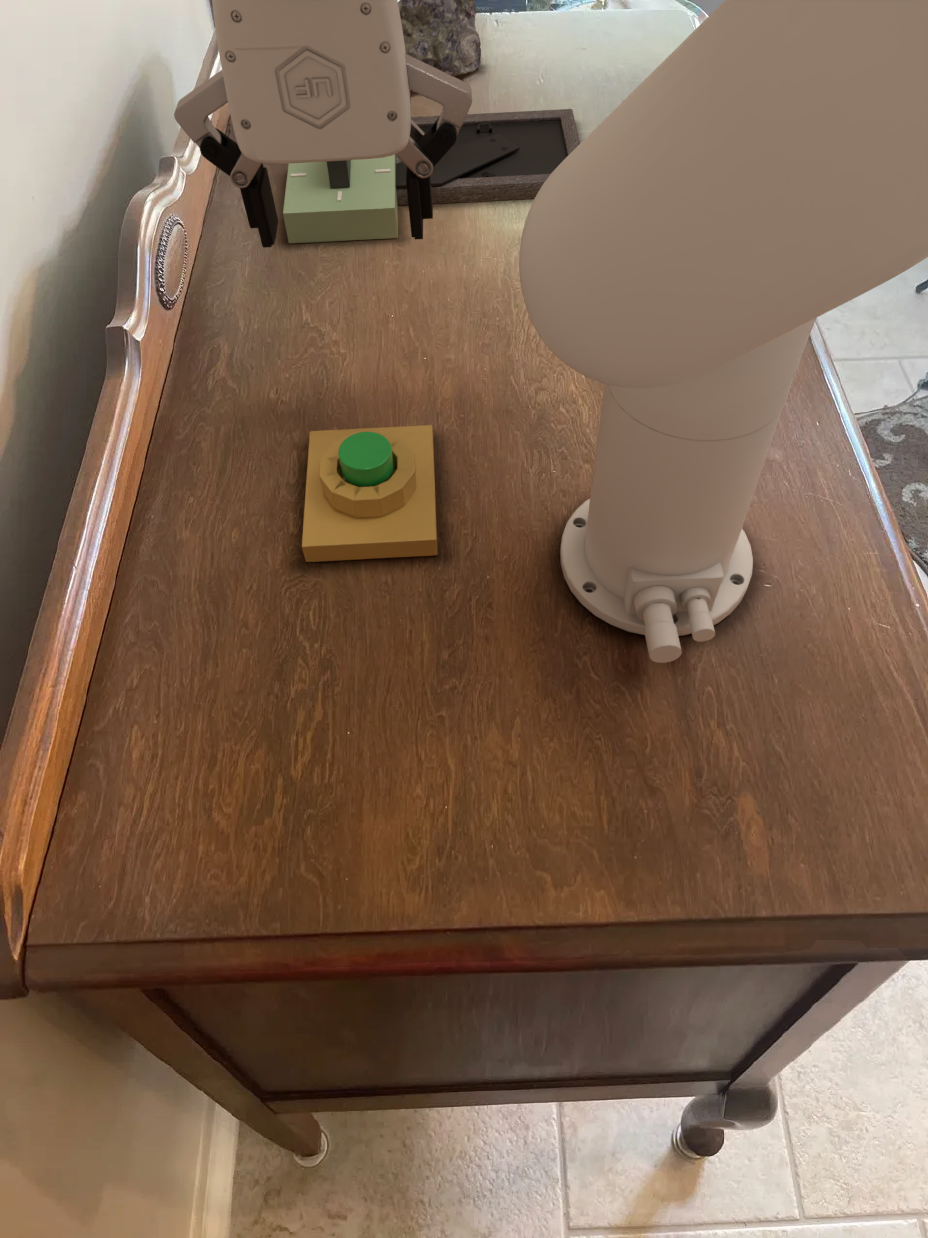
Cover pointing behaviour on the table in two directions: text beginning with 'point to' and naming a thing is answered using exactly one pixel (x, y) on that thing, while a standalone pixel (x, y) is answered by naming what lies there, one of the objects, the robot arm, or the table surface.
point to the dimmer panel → (341, 202)
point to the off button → (366, 459)
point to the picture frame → (497, 156)
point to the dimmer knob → (339, 173)
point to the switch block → (371, 500)
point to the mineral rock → (442, 34)
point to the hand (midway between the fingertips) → (344, 231)
